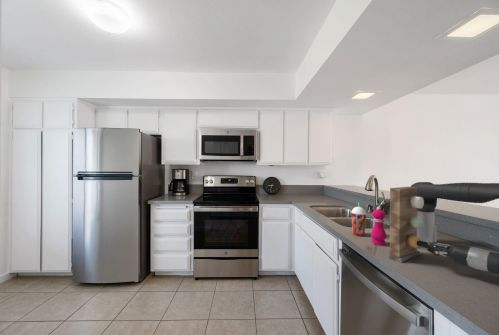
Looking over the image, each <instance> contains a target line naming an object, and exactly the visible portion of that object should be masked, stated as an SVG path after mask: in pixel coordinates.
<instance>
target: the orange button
mask: <svg viewBox="0 0 499 335" xmlns="http://www.w3.org/2000/svg"><path fill="white" fill-rule="evenodd" d="M419 240H420V238H419V237H416V236H412V235H409V237H408V239H407V244H408V246H410V247H414V248H417V249H419V248H420V246H418V245H417V241H419Z"/></svg>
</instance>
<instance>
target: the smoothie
mask: <svg viewBox="0 0 499 335" xmlns="http://www.w3.org/2000/svg"><path fill="white" fill-rule="evenodd" d="M350 214H351V216H350V218H351V233H352V234H353V235H354V236H356V235H357V237H363V235H365V233H366V222H367V221H366V220H367V212H366V210H365V209H364V208H363V207H362V206H360V202H357V206H355V207H353V208H352V210H351V211H350Z"/></svg>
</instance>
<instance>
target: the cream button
mask: <svg viewBox="0 0 499 335" xmlns="http://www.w3.org/2000/svg"><path fill="white" fill-rule="evenodd" d="M423 205H424V200H423V198H422V197H416V196H413V197H412V198H411V206H412V207H414V208H422V207H423Z"/></svg>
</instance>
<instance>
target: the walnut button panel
mask: <svg viewBox="0 0 499 335" xmlns="http://www.w3.org/2000/svg"><path fill="white" fill-rule="evenodd" d="M413 196H416V197H417V187H411V186H401V187H390V188H389V255H388V258H389V259H390V260H393V261H395V262H398V263H403V262H406V261H409V260H410V259H412V258H415V257H418V256H420V252H421V251H419V250H417V249H418V248H414V247H410V246H408V244H407V239H408V237H409V235H412V236H416V237H417V228H414V227H411V224H410V221H411V218H412V217H413V216H416V217H417V208H414V207H412V206H411V198H412V197H413Z"/></svg>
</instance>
